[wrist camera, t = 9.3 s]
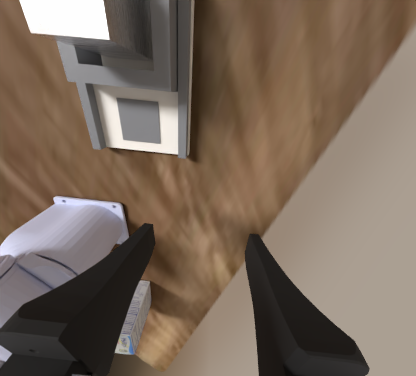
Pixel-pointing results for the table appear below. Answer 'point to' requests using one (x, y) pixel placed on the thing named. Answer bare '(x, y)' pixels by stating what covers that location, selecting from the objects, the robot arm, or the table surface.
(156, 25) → the frame
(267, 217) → the table surface
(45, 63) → the table surface
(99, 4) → the steel square block
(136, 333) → the medicine box
